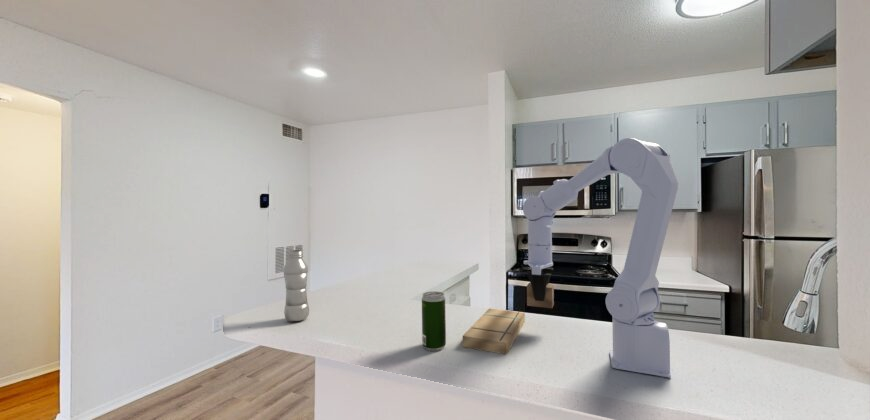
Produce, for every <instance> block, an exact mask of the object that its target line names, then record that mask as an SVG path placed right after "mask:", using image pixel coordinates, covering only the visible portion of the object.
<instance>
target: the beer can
mask: <svg viewBox="0 0 870 420" xmlns="http://www.w3.org/2000/svg"><path fill="white" fill-rule="evenodd" d="M446 318H447V317H446V297H445V293H444V292H442V291H425V292H424V293H422V297H421V331H422V332H421V336H422V337H421V340H422V343H421V345H422V346H423V349H424V350H426V351H429V352H439V351H443V350H444V348H445V347H446V345H447V333H446V332H447V329H446V320H447V319H446Z"/></svg>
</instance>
